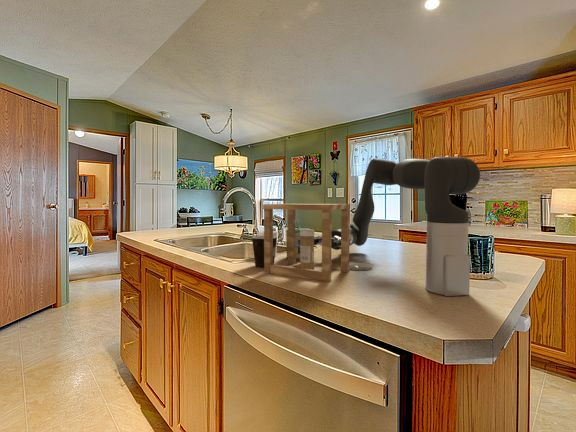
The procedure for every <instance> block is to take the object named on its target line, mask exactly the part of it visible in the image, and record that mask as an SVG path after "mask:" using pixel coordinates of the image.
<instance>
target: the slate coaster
mask: <svg viewBox="0 0 576 432" xmlns="http://www.w3.org/2000/svg"><path fill="white" fill-rule="evenodd" d="M372 269H373V265H371V264H369V263H364V262H349V271H356V272H357V271H358V272H359V271H369V270H372Z"/></svg>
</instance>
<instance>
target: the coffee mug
mask: <svg viewBox="0 0 576 432" xmlns="http://www.w3.org/2000/svg"><path fill="white" fill-rule="evenodd" d="M251 241H252V250H253V259H254V265H255V266H256V267H255V268H258V267H260V268H259V269H264V236H258V235H257V236H252V237H251ZM276 241H277V242H278V237H275V236H273V265H275V250H276Z"/></svg>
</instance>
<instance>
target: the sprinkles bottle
mask: <svg viewBox="0 0 576 432" xmlns="http://www.w3.org/2000/svg"><path fill="white" fill-rule="evenodd" d="M311 229H312V228H309V229H303V230H300V237H301V245H300V260H299V261H300V262H301V268H304V269H312V270H315V245H314V237H315V229H312V230H311Z"/></svg>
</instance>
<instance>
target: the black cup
mask: <svg viewBox="0 0 576 432" xmlns="http://www.w3.org/2000/svg"><path fill="white" fill-rule="evenodd" d="M278 233H279V232H278V231H277V230H273V236H275V237H277V238H279V237H278V235H279V234H278ZM257 236H264V230H260V231H257ZM277 250H278V240H277V241H276V250H275V256H276V257H277Z"/></svg>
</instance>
